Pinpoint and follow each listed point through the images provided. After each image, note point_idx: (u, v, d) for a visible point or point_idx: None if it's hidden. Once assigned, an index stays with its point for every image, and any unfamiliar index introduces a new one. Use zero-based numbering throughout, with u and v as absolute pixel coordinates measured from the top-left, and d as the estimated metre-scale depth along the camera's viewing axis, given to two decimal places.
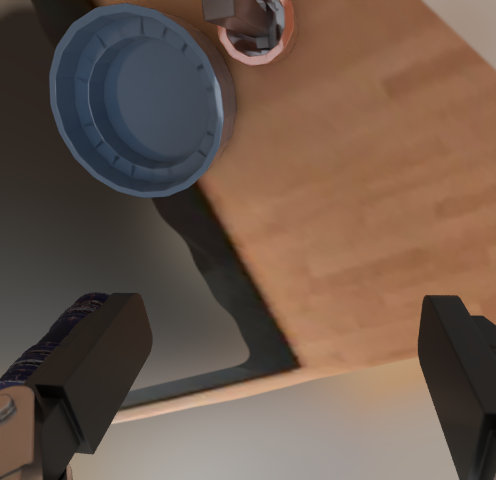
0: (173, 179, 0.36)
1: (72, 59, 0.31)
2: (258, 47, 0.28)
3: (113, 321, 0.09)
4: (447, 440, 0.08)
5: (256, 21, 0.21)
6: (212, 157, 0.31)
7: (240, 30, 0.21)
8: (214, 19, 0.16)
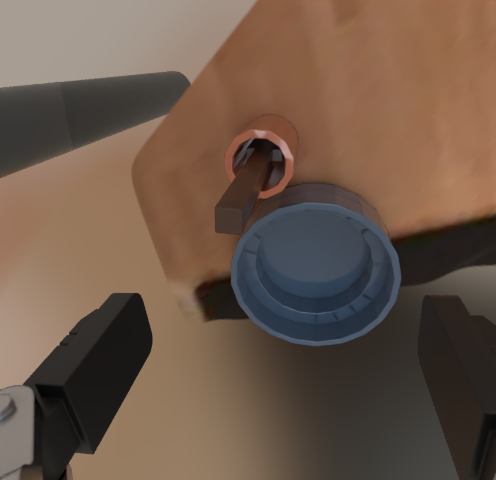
0: (386, 263, 0.34)
1: (263, 312, 0.38)
2: (280, 159, 0.30)
3: (113, 321, 0.09)
4: (447, 440, 0.08)
5: (255, 172, 0.23)
6: (372, 224, 0.30)
7: (260, 187, 0.24)
8: (242, 226, 0.18)
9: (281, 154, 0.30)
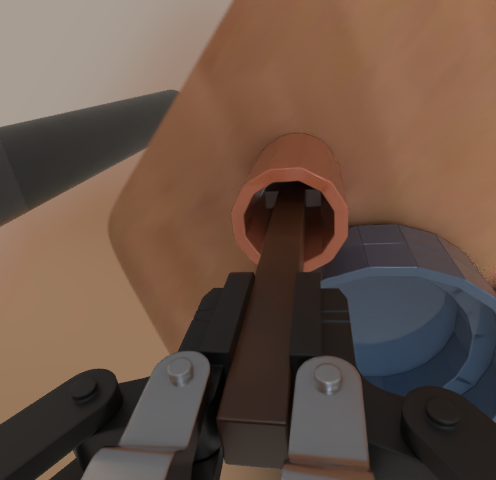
0: (493, 334, 0.23)
1: None
2: (319, 203, 0.19)
3: (245, 296, 0.10)
4: None
5: (290, 256, 0.12)
6: (480, 291, 0.19)
7: None
8: None
9: (320, 195, 0.19)
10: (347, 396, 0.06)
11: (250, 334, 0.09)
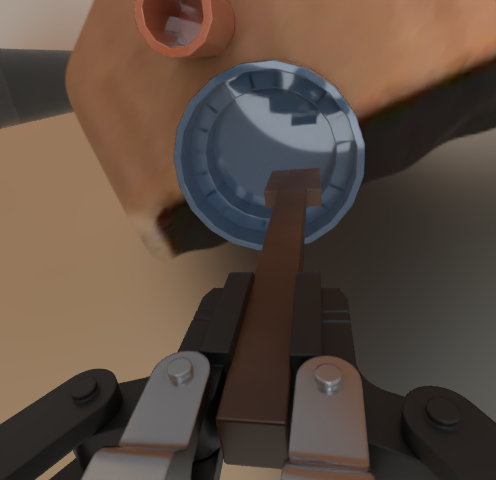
0: (350, 139, 0.30)
1: (224, 222, 0.34)
2: (319, 203, 0.19)
3: (245, 296, 0.10)
4: None
5: (290, 256, 0.12)
6: (319, 77, 0.26)
7: None
8: None
9: (319, 195, 0.19)
10: (347, 396, 0.06)
11: (250, 334, 0.09)
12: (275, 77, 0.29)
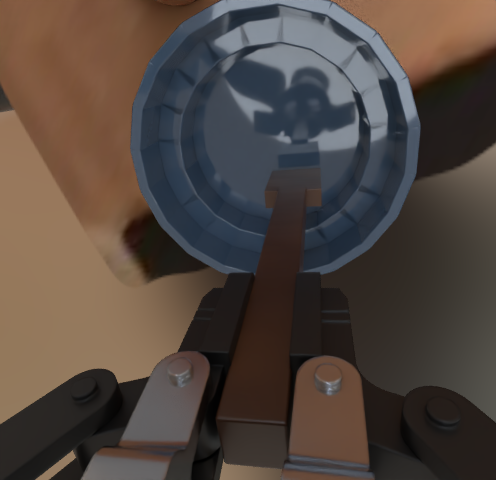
0: (391, 121, 0.20)
1: (209, 241, 0.24)
2: (319, 203, 0.19)
3: (245, 296, 0.10)
4: None
5: (290, 256, 0.12)
6: (351, 17, 0.16)
7: None
8: None
9: (320, 195, 0.19)
10: (347, 396, 0.06)
11: (250, 334, 0.09)
12: (280, 26, 0.19)
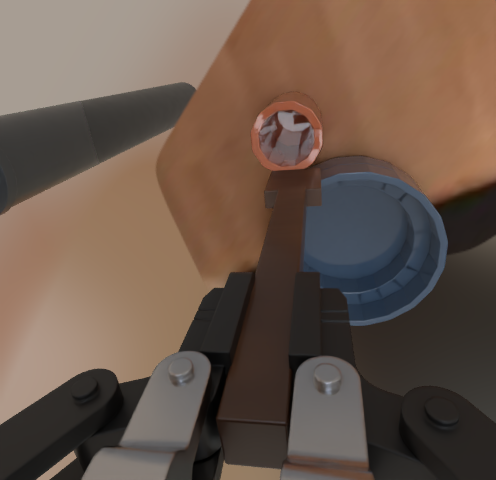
0: (428, 230, 0.33)
1: None
2: (319, 203, 0.19)
3: (245, 296, 0.10)
4: None
5: (290, 256, 0.12)
6: (410, 187, 0.29)
7: None
8: None
9: (320, 195, 0.19)
10: (346, 396, 0.06)
11: (250, 334, 0.09)
12: None
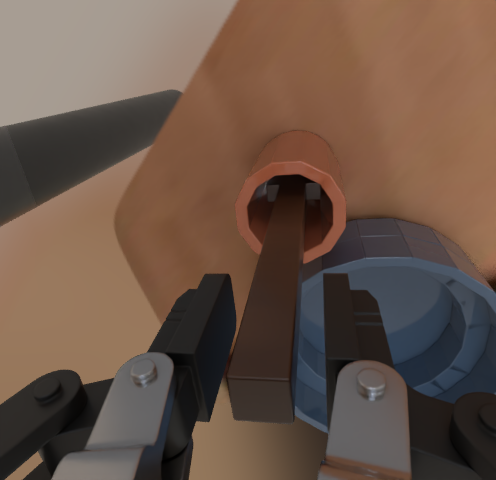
0: (486, 324, 0.23)
1: (311, 399, 0.28)
2: (319, 196, 0.20)
3: (217, 298, 0.10)
4: None
5: (291, 242, 0.13)
6: (472, 280, 0.19)
7: (302, 264, 0.14)
8: (292, 408, 0.08)
9: (319, 189, 0.20)
10: (393, 402, 0.06)
11: (255, 308, 0.10)
12: None
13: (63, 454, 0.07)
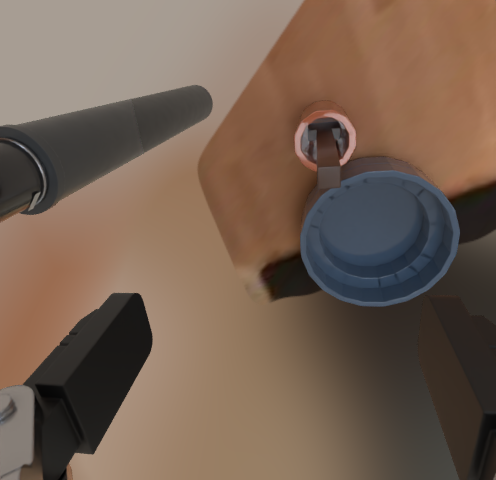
0: (442, 221, 0.38)
1: (330, 281, 0.42)
2: (339, 137, 0.34)
3: (113, 321, 0.09)
4: (447, 440, 0.08)
5: (331, 143, 0.27)
6: (428, 184, 0.34)
7: None
8: (340, 180, 0.22)
9: (339, 132, 0.34)
10: None
11: (321, 157, 0.24)
12: None
13: None
